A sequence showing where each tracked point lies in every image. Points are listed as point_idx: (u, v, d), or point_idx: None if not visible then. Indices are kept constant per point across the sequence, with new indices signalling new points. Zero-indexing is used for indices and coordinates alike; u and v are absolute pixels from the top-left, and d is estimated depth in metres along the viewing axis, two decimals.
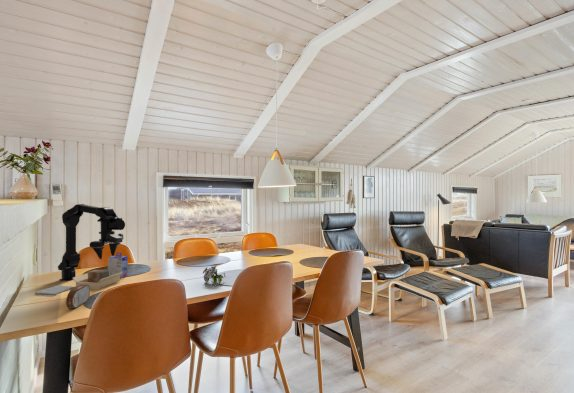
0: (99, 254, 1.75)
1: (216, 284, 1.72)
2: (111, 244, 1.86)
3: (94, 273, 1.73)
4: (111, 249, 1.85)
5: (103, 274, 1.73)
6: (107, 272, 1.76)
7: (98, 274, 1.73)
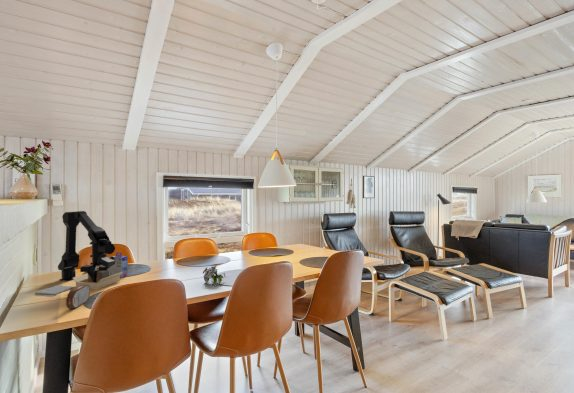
0: (93, 278, 1.72)
1: (216, 284, 1.72)
2: (101, 268, 1.79)
3: None
4: None
5: (103, 274, 1.73)
6: (107, 272, 1.76)
7: (98, 274, 1.73)
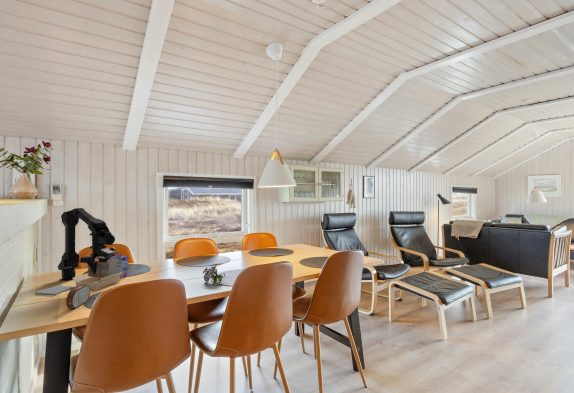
0: (93, 269, 1.72)
1: (216, 284, 1.72)
2: (101, 259, 1.79)
3: None
4: None
5: (103, 266, 1.73)
6: (107, 264, 1.76)
7: (98, 265, 1.73)
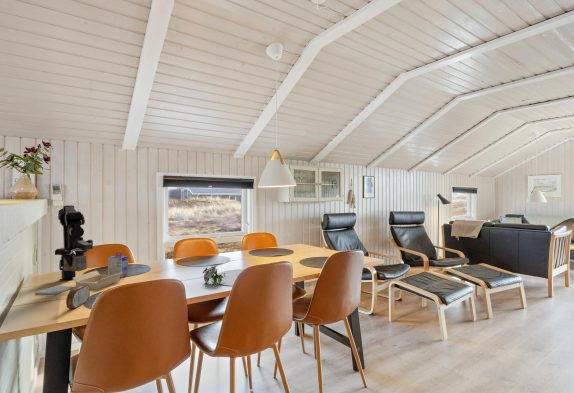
0: (69, 261, 1.66)
1: (216, 284, 1.72)
2: (77, 251, 1.73)
3: None
4: None
5: (80, 259, 1.67)
6: (84, 257, 1.70)
7: (74, 259, 1.67)
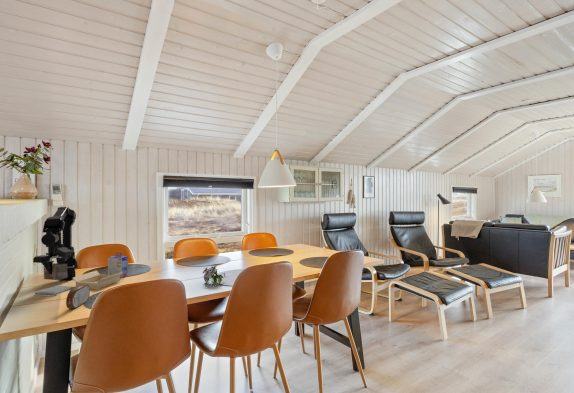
0: (48, 269, 1.61)
1: (216, 284, 1.72)
2: (58, 259, 1.68)
3: None
4: None
5: (60, 268, 1.62)
6: (65, 266, 1.65)
7: (54, 267, 1.62)
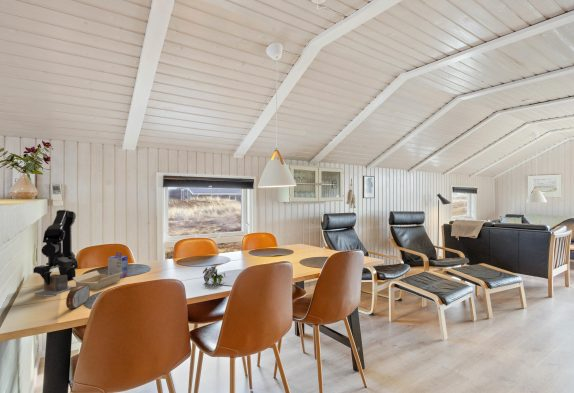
0: (46, 280, 1.60)
1: (216, 284, 1.72)
2: (61, 268, 1.69)
3: (50, 278, 1.62)
4: (61, 273, 1.69)
5: (60, 279, 1.62)
6: (65, 277, 1.65)
7: (54, 279, 1.62)
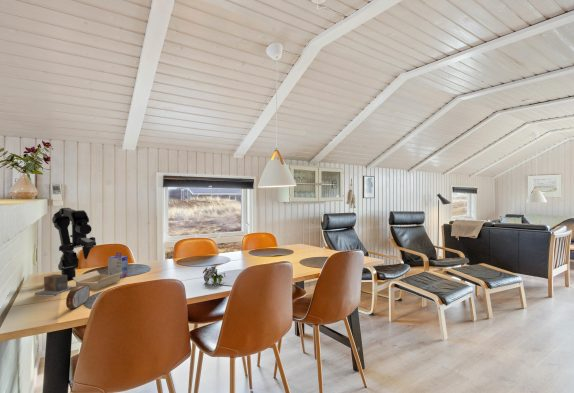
0: (69, 258, 1.73)
1: (216, 284, 1.72)
2: (84, 247, 1.84)
3: (50, 278, 1.62)
4: (84, 252, 1.83)
5: (60, 279, 1.62)
6: (65, 277, 1.65)
7: (54, 279, 1.62)
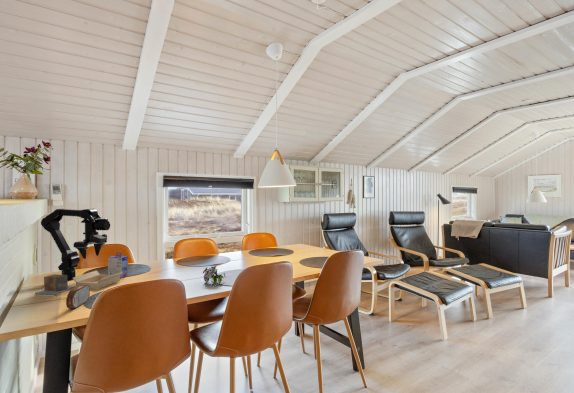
0: (83, 254, 1.81)
1: (216, 284, 1.72)
2: (96, 244, 1.92)
3: (50, 278, 1.62)
4: (96, 249, 1.92)
5: (60, 279, 1.62)
6: (65, 277, 1.65)
7: (54, 279, 1.62)
